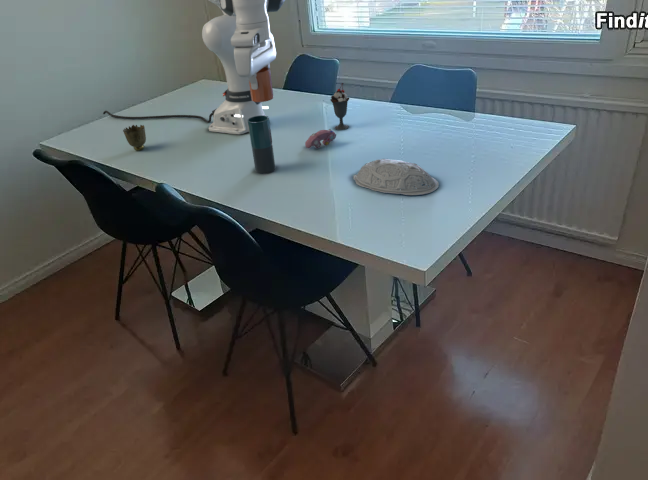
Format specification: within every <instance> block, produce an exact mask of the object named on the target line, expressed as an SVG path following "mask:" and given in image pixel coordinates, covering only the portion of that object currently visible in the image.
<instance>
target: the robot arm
mask: <svg viewBox="0 0 648 480" xmlns="http://www.w3.org/2000/svg"><path fill="white" fill-rule="evenodd" d="M285 1H286V0H208V2H210V3H211V4H214V5H215V6H217V7H218V8H219V10H220V11H221V12H222V15H219V16H215V17H214V18H212V19H210V20H209V21H207V22H206V23H205V24H204V25H203V26H202V31H201V37H202V41H203V44H204V45H205V47H206V49H208V50H209V51H210V52H212V53H214V54H215V55H216V57H217V58H218V59H219V61H220V62H221V65H222V67H223V70H224V73H225V74H224V75H225V79H226V83H227V89H225V90H224V92H222V97H225V100H224V101H222V103H220V105H219V106H218V107H216V108H215V109H213V110H211V113H210V114H209V116H208V119H206V118H205V117H203V116H201V115H196V114H195V115H192V114H167V115H148V116H123V115H116V114H112V113H111V112H109V111H108V110H104V111H103V113H102V115H106V114H108V115H109V116H110V117H112V118H117V119H124V120H125V119H126V120H127V119H128V120H131V119H132V120H142V119H143V120H145V119H148V120H149V119H163V118H164V119H166V118H193V119H200V120H202V121H203V122H205V123H207V124H209V126H208V131H209V132H212V133H223V134H230V135H243V134H247V133H249V127H248V121H247V120H248V119H249V118H251V117H254V116H260V115H264V116H266V113H265V111H264V110H268V109H269V106H268V105H266V106H265V105H264V106H263V102H254V101H252V99H251V92H250V85H249V81H250V83H251V88H252V89H253V90H256V89H258V88H259V82H257V79H256V76H257V74H256V73H257V72H258V71H260V70H261V69H262V68H264V67H268V68H270V69H271V63H272V62H274V61H275V60H276V58H277V49H276V44H275V43H276V42H275V39H274V35H273V34H272V32H271V27H270V18H269V15H268V13H277V12H278V11H279V10H280V9H281V8H282V7H283V5H284V3H285ZM212 117H213V122H212ZM210 123H211V124H210Z"/></svg>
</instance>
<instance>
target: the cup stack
mask: <svg viewBox="0 0 648 480" xmlns="http://www.w3.org/2000/svg"><path fill="white" fill-rule="evenodd" d="M247 121H248V127H249V132H248V134H249V140H250V145H251V151H252V158H253V164H254V170H255V173H257V174H261V175H264V174H270V173H272V172H275V171H276V168H277V167H276V161H275V154H274V145H273V138H272V129H271V122H270V121H271V120H270V117H269V116H268V115H265V116H264V115H260V116H254V117H251V118H249V119H248V120H247Z"/></svg>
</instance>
